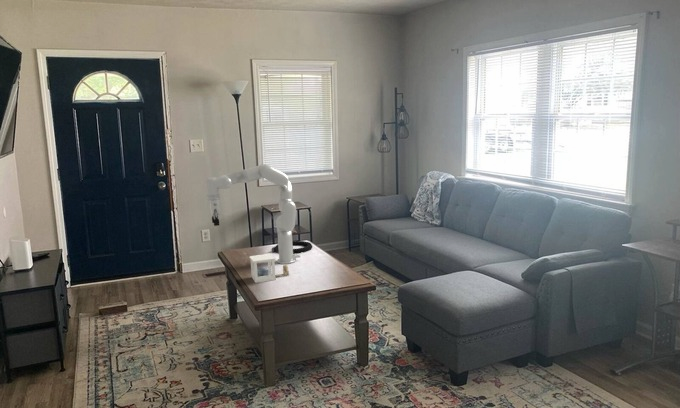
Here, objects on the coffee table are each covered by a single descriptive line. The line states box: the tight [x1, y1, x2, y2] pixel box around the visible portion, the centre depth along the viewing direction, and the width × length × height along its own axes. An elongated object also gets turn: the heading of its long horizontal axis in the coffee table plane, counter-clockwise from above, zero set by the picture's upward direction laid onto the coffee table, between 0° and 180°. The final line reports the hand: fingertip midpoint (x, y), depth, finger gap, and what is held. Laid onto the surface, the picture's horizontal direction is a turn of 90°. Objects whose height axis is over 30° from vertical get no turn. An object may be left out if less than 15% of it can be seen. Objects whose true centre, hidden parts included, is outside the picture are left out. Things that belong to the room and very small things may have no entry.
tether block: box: [257, 264, 290, 278], centre depth 316 cm, size 19×6×6 cm, turn 110°
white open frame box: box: [249, 253, 277, 284], centre depth 313 cm, size 13×13×13 cm
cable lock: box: [271, 240, 313, 254], centre depth 381 cm, size 28×4×30 cm
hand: (215, 224), depth 329 cm, fingers open, 9 cm apart
